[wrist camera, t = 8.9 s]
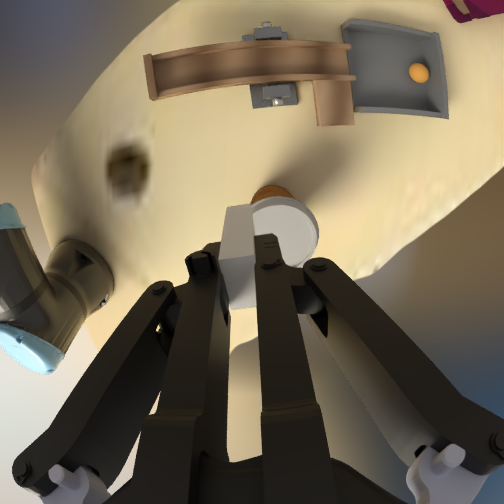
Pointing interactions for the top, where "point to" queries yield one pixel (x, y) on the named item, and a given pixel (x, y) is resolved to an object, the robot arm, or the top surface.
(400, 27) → the tray
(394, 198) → the top surface
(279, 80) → the lever
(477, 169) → the top surface
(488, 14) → the book
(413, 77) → the ball
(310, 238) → the disposable coffee cup
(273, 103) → the fulcrum
